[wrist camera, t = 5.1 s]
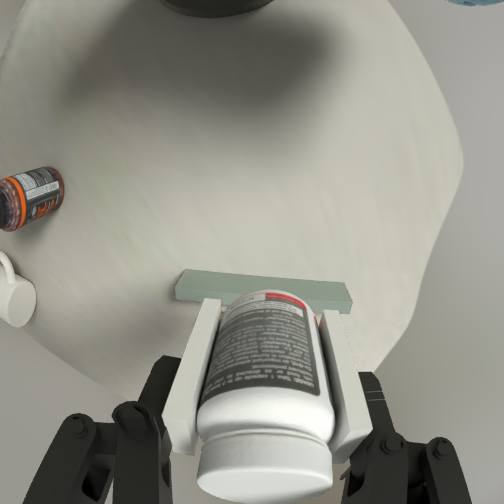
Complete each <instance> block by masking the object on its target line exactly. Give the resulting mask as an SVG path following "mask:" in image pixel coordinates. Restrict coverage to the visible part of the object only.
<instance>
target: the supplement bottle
mask: <svg viewBox="0 0 504 504" xmlns="http://www.w3.org/2000/svg"><path fill="white" fill-rule="evenodd" d="M63 195H64V186H63V181H62V178H61V176H60V174H59V173H58V172H57V171H56V170H55V169H54V168H52V167H42V168H38V169H34V170H31V171H27V172H24V173H20V174H17V175H14V176H10V177H8V178H4V179H2V180H0V229H2V230H4V231H7V232H11V231H14V230H16V229H18V228H20V227H22V226H24V225H26V224H28V223H30V222H31V221H33V220H35V219H37V218H40V217H42V216H44V215H46V214H48V213H50V212H52V211H53V210H55V209H57V208H58V207H59V205H60V204H61V202H62V199H63Z"/></svg>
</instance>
